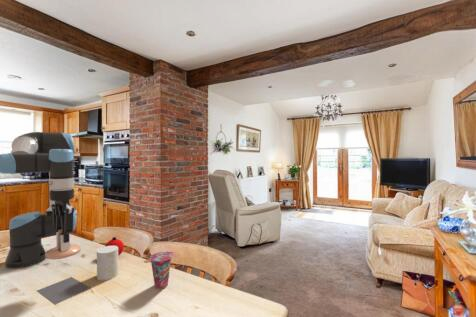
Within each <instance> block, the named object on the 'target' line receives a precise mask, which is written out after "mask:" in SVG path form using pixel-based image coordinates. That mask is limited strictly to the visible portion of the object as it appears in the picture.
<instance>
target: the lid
mask: <svg viewBox="0 0 476 317" xmlns="http://www.w3.org/2000/svg"><path fill="white" fill-rule="evenodd" d="M61 233H62V229H59V230H58V248H59V249H58V250H57V246H54V247H52V248H50V249H48V250H47V251H45V252H46V253H45V259H47V260H60V259H66V258H70V257H72V256H75V255H77V254H78V253H80V251H81V245H80V244H76V243H75V244H74V243H73V244H72V243H71V244H70V249H69V250H66V251H63V252H61V235H60V234H61Z"/></svg>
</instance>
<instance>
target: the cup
mask: <svg viewBox="0 0 476 317" xmlns="http://www.w3.org/2000/svg"><path fill="white" fill-rule="evenodd" d="M174 254H175V253H174V251H160V252H156V253H154V254H152V255H150V256H149V259H150V263H151V264H150V265H151V268H152V275H153V276H152V277H153V278H152V279H153V283H154V288H155V289H156V290H157V289H158V290H162V289H165V288H166V287H168V285H169V279H170V270H171V263H172V256H174Z"/></svg>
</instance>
